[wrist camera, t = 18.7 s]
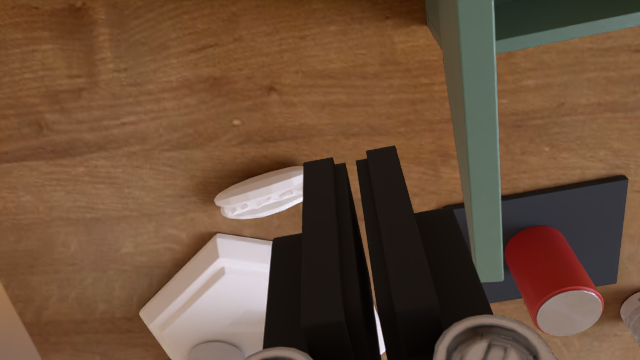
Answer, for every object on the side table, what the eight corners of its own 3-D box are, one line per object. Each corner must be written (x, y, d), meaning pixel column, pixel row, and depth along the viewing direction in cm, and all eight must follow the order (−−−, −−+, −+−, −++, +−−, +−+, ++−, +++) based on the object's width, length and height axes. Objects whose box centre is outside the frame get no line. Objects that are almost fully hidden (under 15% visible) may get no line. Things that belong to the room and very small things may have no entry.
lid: (488, -183, 10) (442, -173, 10) (504, 281, 16) (475, 283, 16) (440, -188, 23) (421, -184, 23) (459, 65, 29) (443, 68, 30)
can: (566, 220, 44) (607, 283, 38) (564, 266, 46) (602, 332, 40) (503, 231, 44) (534, 294, 38) (504, 276, 47) (533, 342, 41)
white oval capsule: (212, 183, 42) (206, 204, 40) (310, 152, 41) (310, 171, 38) (229, 214, 44) (225, 236, 41) (324, 185, 42) (325, 205, 40)
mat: (624, 175, 42) (628, 179, 42) (613, 278, 48) (616, 283, 47) (443, 206, 43) (444, 211, 43) (453, 303, 49) (454, 308, 49)
